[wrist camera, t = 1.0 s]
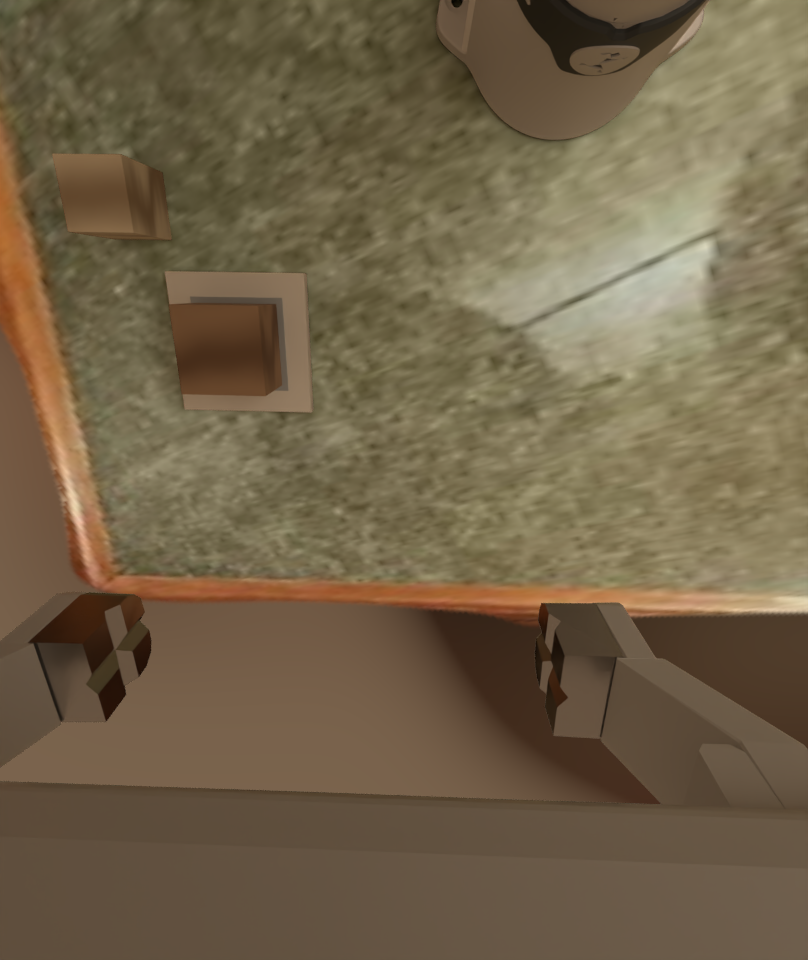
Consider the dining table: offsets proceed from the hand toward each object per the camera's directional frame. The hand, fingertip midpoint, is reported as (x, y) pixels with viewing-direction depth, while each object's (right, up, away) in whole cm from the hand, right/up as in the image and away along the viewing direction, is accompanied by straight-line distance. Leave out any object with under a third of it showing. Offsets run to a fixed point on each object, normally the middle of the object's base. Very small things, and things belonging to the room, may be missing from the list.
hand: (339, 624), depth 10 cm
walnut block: (-13, +15, +34) cm, 40 cm away
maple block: (-21, +26, +32) cm, 46 cm away
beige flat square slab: (-13, +15, +35) cm, 41 cm away
